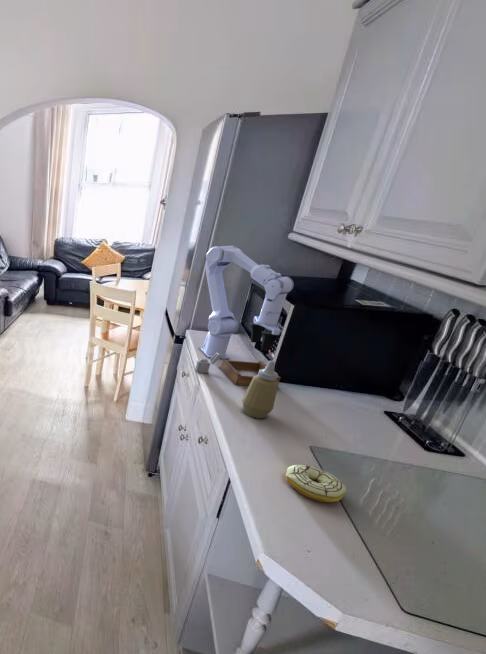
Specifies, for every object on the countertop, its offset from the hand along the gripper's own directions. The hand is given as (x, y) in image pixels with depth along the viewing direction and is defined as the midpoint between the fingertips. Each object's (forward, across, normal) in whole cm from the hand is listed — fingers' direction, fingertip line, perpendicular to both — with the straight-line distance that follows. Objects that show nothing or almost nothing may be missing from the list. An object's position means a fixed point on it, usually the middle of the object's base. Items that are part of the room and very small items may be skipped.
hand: (259, 346), depth 145 cm
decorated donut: (+11, +65, -15) cm, 68 cm away
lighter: (+11, +4, -18) cm, 21 cm away
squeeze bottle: (+11, +32, -13) cm, 36 cm away
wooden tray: (+10, +6, -4) cm, 13 cm away
